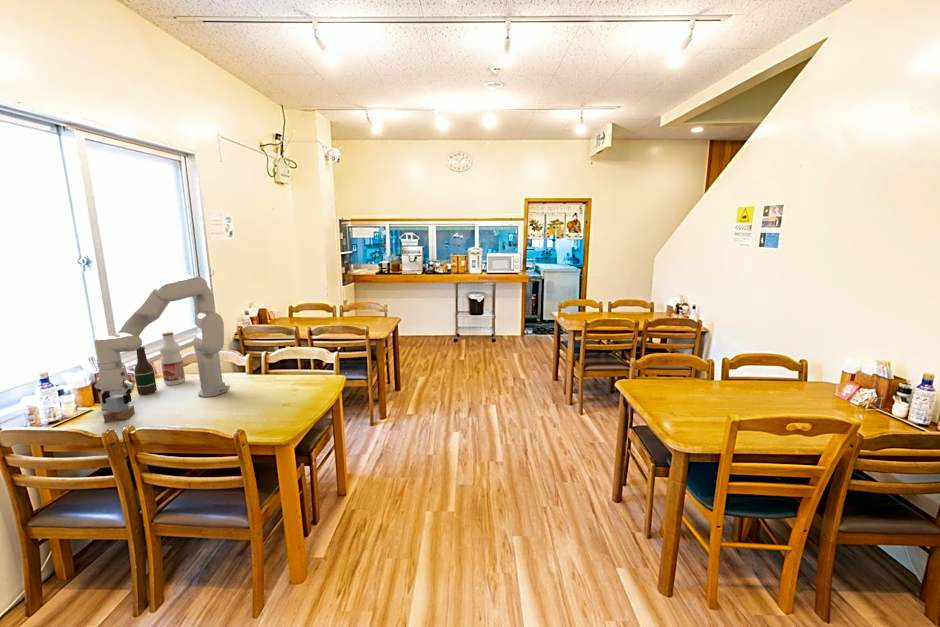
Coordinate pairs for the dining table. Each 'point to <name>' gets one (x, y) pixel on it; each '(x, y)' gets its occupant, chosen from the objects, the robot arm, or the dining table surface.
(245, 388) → the dining table surface
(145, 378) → the beer bottle
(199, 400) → the dining table surface
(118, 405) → the cube
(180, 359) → the fruit juice
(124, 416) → the walnut block
